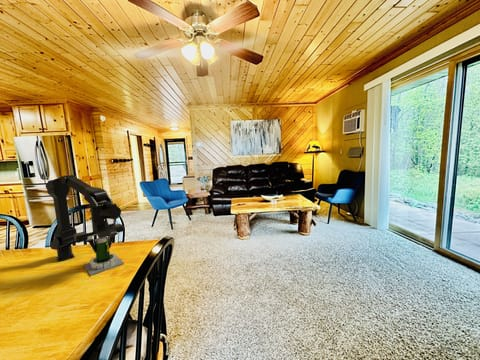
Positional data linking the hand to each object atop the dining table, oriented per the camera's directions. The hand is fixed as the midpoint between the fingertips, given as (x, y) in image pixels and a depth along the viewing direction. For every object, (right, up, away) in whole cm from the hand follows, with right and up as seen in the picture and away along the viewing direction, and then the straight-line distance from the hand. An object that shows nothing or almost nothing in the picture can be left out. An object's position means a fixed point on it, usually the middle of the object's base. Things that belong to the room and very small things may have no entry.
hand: (102, 250), depth 96 cm
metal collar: (0, -7, +1) cm, 7 cm away
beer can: (0, -7, +1) cm, 7 cm away
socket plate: (0, -7, +1) cm, 7 cm away
